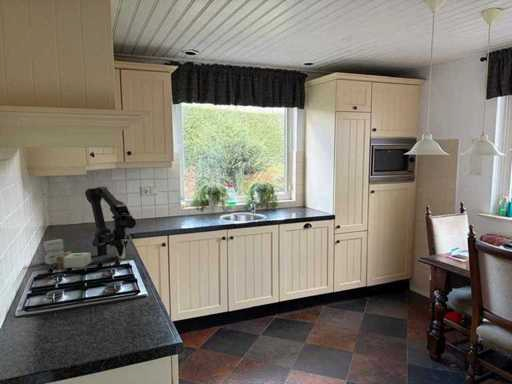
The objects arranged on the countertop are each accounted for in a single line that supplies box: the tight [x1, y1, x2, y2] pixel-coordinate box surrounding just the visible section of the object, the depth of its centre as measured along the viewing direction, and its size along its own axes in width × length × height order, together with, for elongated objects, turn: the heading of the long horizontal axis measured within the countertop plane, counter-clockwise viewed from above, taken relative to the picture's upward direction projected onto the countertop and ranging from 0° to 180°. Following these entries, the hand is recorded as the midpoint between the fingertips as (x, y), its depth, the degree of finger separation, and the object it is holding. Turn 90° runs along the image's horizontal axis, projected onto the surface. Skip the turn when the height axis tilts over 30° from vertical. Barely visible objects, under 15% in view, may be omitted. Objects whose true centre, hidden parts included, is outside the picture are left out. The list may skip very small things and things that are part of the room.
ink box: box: [43, 238, 65, 265], centre depth 207 cm, size 9×5×12 cm, turn 141°
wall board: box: [56, 250, 73, 270], centre depth 196 cm, size 13×32×7 cm, turn 94°
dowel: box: [117, 247, 126, 260], centre depth 208 cm, size 4×4×8 cm
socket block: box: [62, 252, 92, 269], centre depth 195 cm, size 10×10×5 cm
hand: (121, 255), depth 208 cm, fingers closed on dowel, 4 cm apart
